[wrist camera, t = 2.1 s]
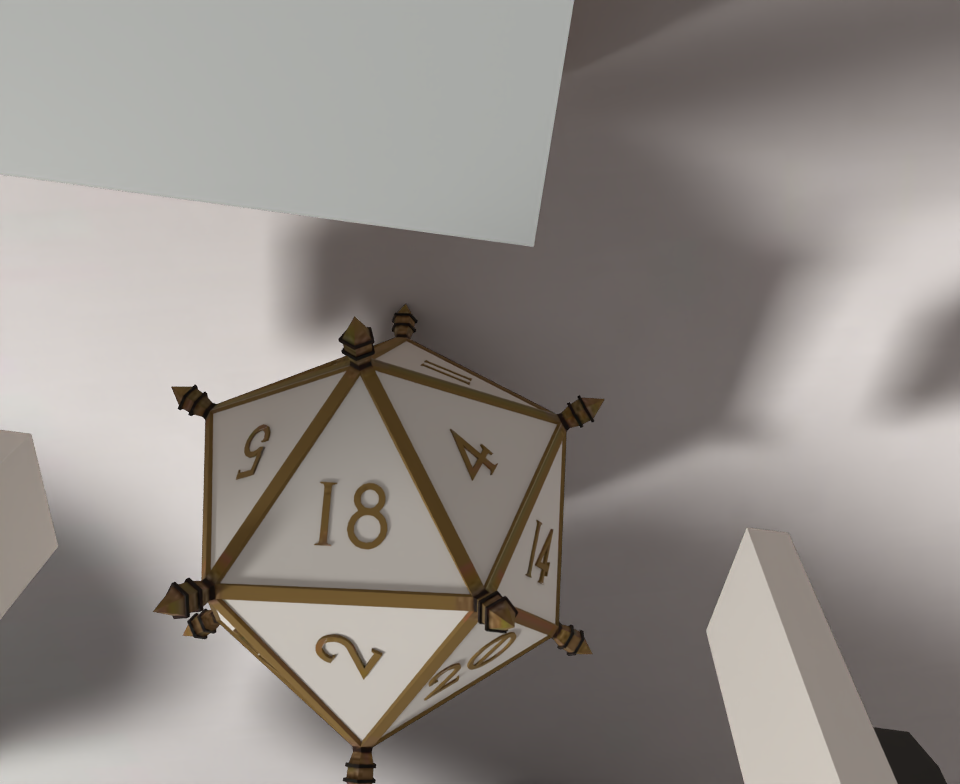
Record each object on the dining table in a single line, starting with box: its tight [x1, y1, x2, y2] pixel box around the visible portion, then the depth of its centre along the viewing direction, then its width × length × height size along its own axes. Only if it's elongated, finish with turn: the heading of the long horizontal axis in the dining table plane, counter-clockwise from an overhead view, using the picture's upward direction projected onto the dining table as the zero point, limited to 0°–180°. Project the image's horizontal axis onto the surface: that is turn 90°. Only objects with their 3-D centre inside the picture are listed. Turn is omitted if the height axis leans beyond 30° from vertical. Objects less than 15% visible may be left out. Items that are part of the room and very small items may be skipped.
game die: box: [153, 304, 604, 784], centre depth 15 cm, size 9×8×10 cm
